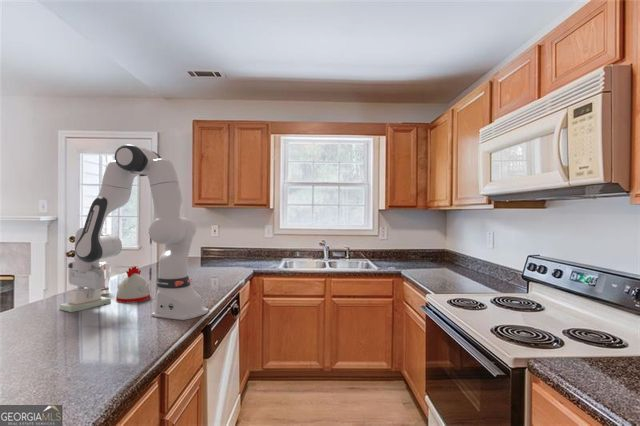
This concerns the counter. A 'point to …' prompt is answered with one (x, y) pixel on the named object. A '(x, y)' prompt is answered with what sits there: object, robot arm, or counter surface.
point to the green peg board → (84, 305)
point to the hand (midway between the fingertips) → (86, 297)
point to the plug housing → (85, 295)
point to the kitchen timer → (133, 287)
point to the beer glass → (105, 275)
